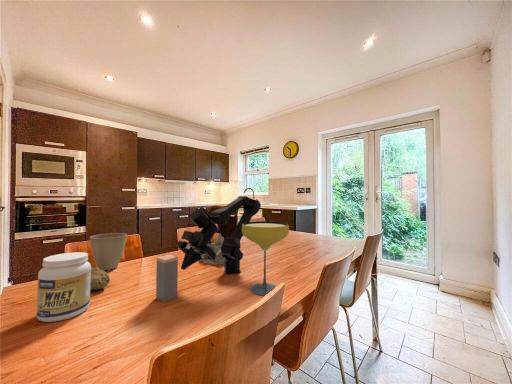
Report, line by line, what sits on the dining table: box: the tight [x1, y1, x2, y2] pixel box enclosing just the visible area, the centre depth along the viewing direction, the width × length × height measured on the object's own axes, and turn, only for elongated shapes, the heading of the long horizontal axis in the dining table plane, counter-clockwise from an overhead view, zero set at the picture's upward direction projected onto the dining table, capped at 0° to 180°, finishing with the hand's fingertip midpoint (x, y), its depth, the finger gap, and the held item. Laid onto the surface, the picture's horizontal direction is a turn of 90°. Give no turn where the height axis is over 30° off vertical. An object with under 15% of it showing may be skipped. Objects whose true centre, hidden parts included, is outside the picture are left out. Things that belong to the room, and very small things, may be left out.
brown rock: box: [90, 266, 111, 291], centre depth 86 cm, size 13×8×20 cm
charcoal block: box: [155, 254, 179, 303], centre depth 77 cm, size 5×5×14 cm
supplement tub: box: [36, 251, 92, 323], centre depth 67 cm, size 12×12×17 cm
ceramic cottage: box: [200, 232, 225, 265], centre depth 121 cm, size 16×16×15 cm
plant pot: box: [89, 232, 128, 272], centre depth 106 cm, size 15×15×16 cm
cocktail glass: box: [242, 220, 290, 297], centre depth 84 cm, size 18×18×25 cm
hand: (182, 269), depth 82 cm, fingers closed
